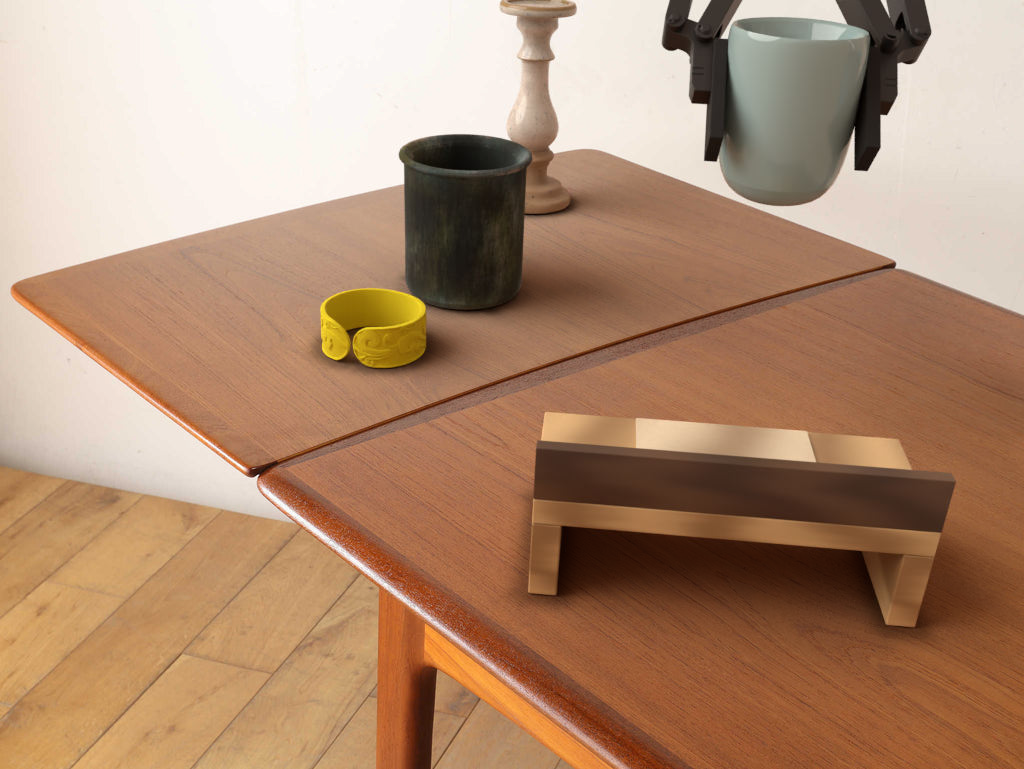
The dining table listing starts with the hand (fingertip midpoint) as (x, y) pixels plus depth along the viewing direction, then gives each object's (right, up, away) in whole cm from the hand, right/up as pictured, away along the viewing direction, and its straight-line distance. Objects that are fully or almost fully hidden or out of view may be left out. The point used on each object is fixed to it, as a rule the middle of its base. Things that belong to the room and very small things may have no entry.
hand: (789, 154), depth 60 cm
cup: (0, -2, +5) cm, 5 cm away
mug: (-20, -4, +32) cm, 38 cm away
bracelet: (-26, -10, +20) cm, 35 cm away
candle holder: (-14, +6, +52) cm, 55 cm away
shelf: (-5, -23, -1) cm, 23 cm away
